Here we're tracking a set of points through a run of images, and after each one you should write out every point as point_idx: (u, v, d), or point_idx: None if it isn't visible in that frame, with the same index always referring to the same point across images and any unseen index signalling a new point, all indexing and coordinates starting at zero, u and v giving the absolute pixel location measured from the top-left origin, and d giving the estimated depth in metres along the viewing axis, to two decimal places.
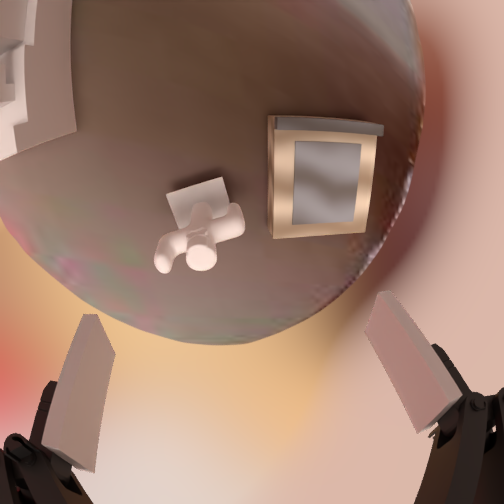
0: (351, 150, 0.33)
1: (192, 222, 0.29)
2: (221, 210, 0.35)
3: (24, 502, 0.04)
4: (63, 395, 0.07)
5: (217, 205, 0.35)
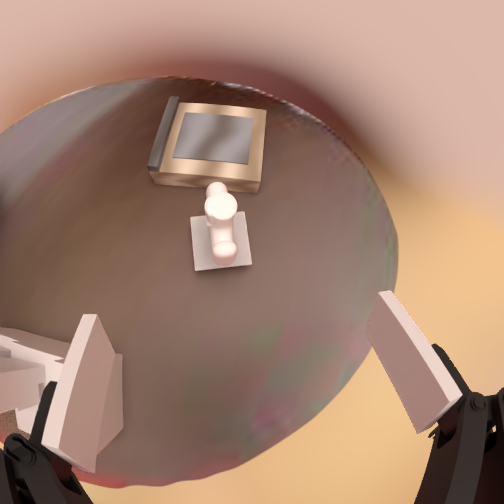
0: (188, 118, 0.40)
1: None
2: None
3: (24, 503, 0.04)
4: (63, 395, 0.07)
5: None
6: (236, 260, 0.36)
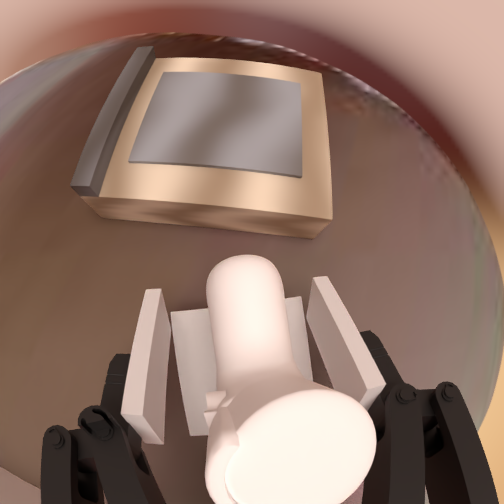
0: (169, 82, 0.18)
1: None
2: None
3: None
4: (140, 363, 0.09)
5: None
6: None
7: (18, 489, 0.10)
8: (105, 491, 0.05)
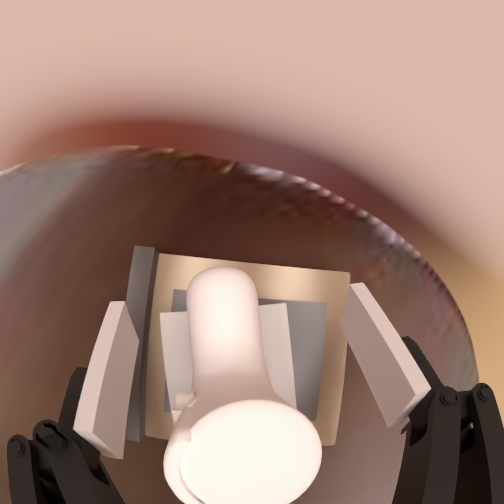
0: None
1: None
2: None
3: (44, 493, 0.05)
4: (95, 379, 0.08)
5: None
6: None
7: None
8: (67, 502, 0.04)
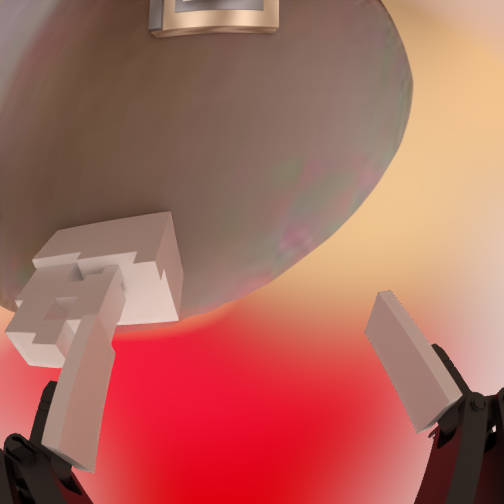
0: None
1: None
2: None
3: (24, 503, 0.04)
4: (63, 395, 0.07)
5: None
6: None
7: (123, 222, 0.39)
8: None
